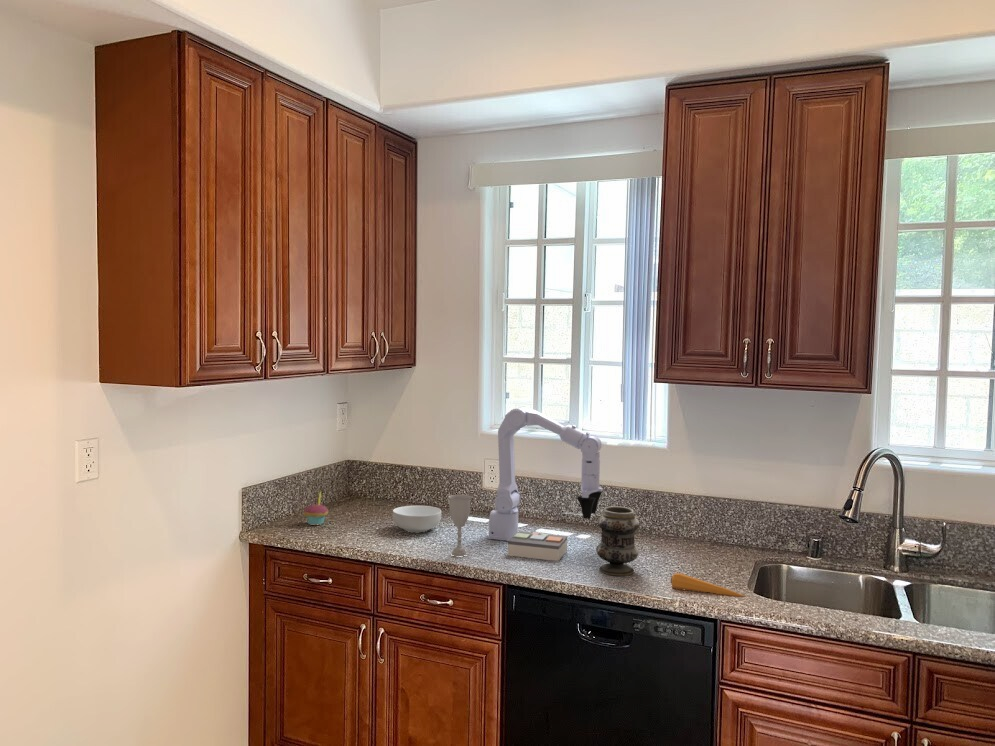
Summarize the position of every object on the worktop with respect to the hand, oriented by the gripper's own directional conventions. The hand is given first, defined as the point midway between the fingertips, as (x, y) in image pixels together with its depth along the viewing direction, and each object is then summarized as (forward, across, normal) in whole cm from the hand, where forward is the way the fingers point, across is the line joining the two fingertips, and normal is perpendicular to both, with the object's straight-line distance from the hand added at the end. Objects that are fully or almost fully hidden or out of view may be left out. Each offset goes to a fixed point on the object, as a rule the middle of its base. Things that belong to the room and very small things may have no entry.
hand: (589, 515), depth 236 cm
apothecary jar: (+10, -21, -13) cm, 27 cm away
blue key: (+7, -13, +13) cm, 20 cm away
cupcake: (+10, -11, +95) cm, 97 cm away
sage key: (+7, -13, +18) cm, 24 cm away
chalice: (+10, -25, +35) cm, 44 cm away
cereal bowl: (+10, -4, +60) cm, 61 cm away
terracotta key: (+7, -13, +8) cm, 17 cm away
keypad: (+10, -13, +13) cm, 21 cm away
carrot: (+10, -30, -39) cm, 50 cm away
